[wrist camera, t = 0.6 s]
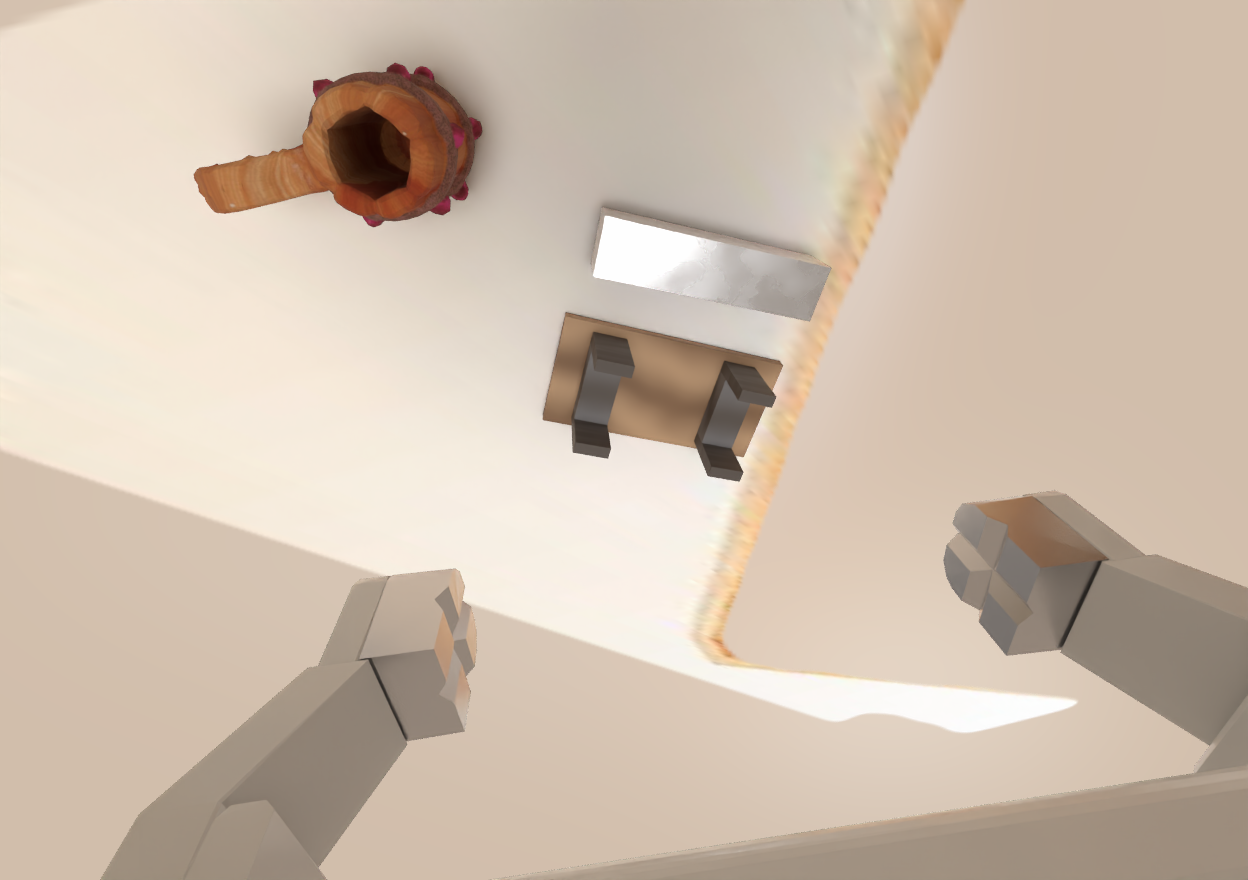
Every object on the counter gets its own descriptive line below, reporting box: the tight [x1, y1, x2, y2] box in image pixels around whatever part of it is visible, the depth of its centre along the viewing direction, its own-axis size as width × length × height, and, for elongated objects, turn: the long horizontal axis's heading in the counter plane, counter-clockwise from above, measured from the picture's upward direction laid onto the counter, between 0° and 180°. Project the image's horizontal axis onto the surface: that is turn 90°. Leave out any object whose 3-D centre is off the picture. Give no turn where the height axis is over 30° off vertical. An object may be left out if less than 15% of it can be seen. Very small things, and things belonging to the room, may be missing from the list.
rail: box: [591, 207, 831, 321], centre depth 46 cm, size 18×4×4 cm, turn 77°
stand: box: [543, 313, 783, 481], centre depth 50 cm, size 10×20×7 cm, turn 75°
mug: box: [194, 63, 482, 227], centre depth 35 cm, size 15×8×15 cm, turn 100°
